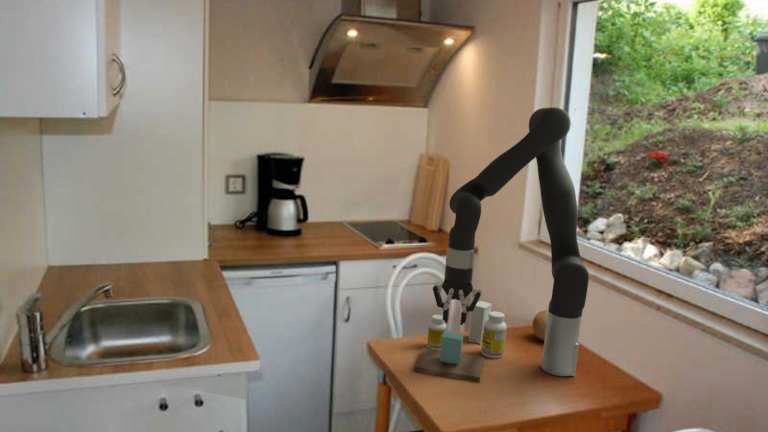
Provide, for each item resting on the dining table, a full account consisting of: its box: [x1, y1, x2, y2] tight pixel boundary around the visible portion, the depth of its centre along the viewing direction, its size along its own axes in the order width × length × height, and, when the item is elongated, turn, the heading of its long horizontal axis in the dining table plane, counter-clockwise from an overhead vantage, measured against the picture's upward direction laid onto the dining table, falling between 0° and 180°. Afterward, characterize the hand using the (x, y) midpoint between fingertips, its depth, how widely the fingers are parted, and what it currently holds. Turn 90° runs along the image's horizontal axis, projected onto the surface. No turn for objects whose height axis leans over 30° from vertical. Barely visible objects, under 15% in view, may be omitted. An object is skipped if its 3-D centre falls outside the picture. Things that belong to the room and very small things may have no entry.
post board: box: [413, 347, 485, 383], centre depth 183 cm, size 18×14×2 cm
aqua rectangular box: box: [440, 329, 464, 364], centre depth 182 cm, size 5×5×7 cm
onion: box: [531, 309, 548, 342], centre depth 208 cm, size 10×10×10 cm
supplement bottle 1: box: [426, 314, 448, 351], centre depth 196 cm, size 5×5×10 cm
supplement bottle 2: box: [480, 311, 508, 359], centre depth 193 cm, size 7×7×13 cm
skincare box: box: [468, 300, 492, 345], centre depth 203 cm, size 6×4×12 cm
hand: (453, 322), depth 180 cm, fingers open, 3 cm apart
